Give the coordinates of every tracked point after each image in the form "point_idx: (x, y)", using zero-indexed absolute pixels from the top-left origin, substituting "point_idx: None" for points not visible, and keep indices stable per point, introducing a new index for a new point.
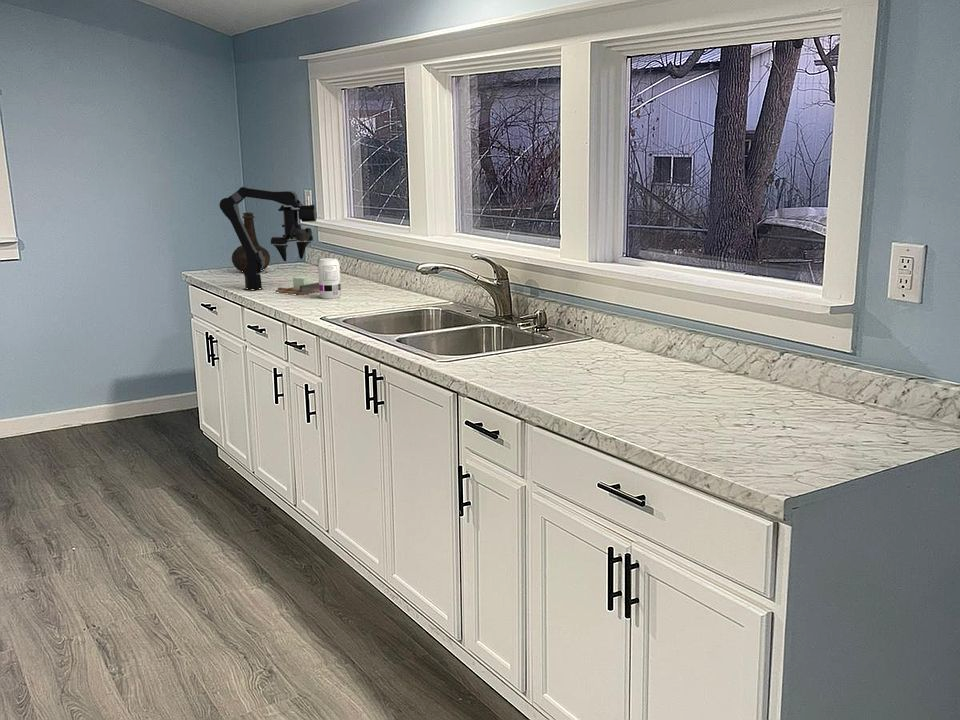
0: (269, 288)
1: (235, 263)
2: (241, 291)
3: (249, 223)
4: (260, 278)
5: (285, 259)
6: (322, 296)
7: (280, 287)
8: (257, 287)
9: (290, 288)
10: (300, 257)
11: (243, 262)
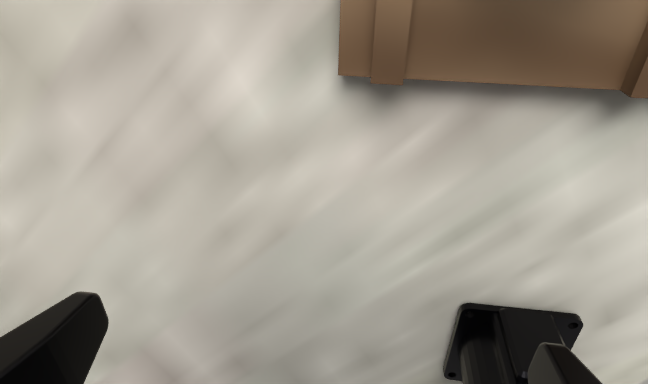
0: (421, 290)
1: None
2: (615, 357)
3: None
4: (527, 375)
5: (589, 372)
6: None
7: (632, 90)
8: (549, 319)
9: (525, 31)
10: (93, 337)
11: None
